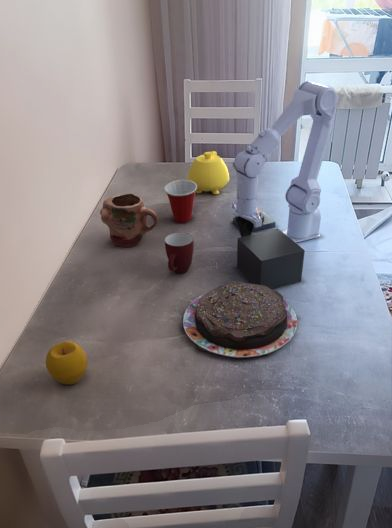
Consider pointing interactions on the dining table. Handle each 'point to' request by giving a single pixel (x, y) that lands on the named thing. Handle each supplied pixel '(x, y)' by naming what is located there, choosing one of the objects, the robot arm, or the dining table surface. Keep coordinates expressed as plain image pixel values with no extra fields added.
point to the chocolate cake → (240, 320)
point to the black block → (270, 259)
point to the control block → (266, 222)
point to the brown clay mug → (126, 219)
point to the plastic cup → (181, 199)
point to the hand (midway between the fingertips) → (245, 239)
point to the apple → (66, 362)
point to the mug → (179, 251)
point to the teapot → (209, 173)
